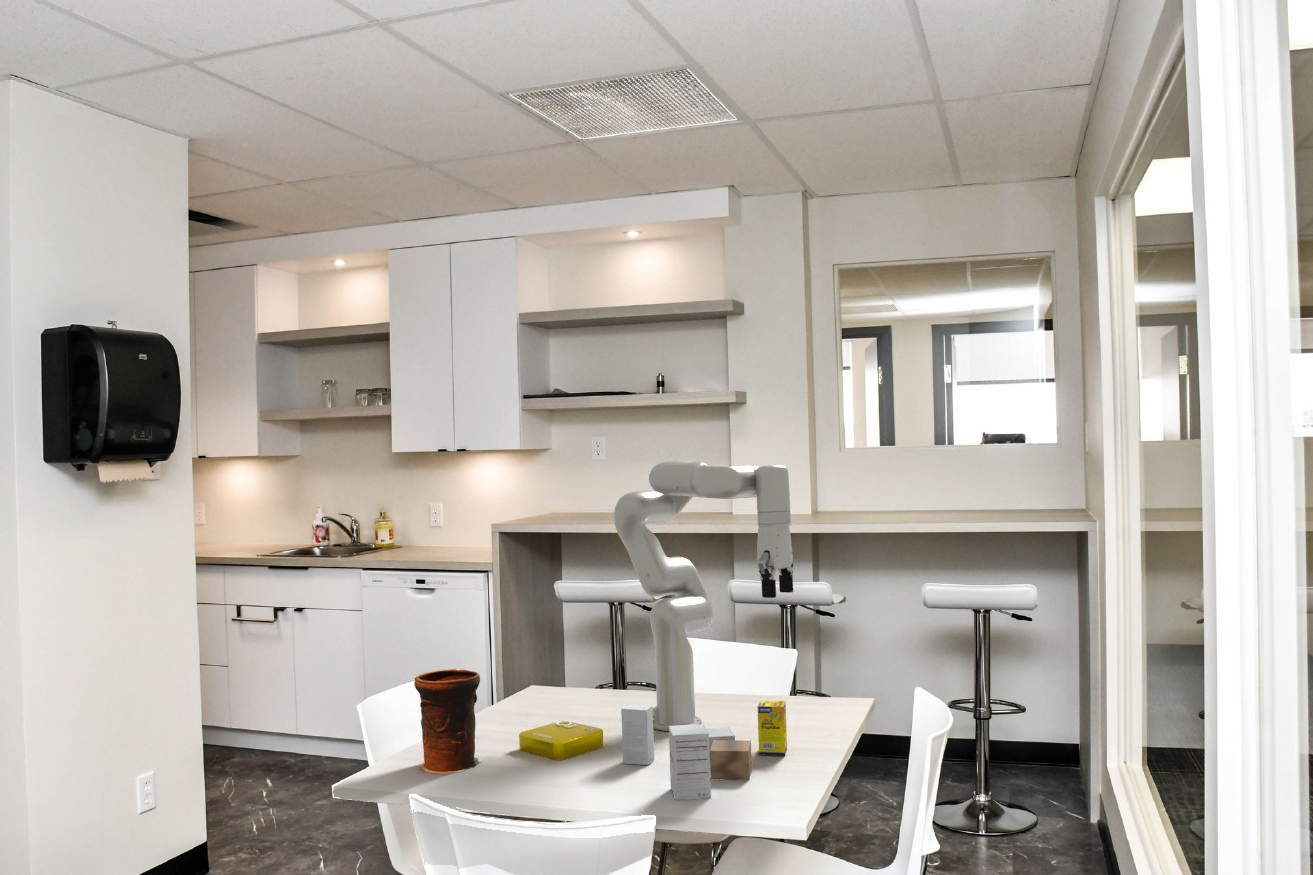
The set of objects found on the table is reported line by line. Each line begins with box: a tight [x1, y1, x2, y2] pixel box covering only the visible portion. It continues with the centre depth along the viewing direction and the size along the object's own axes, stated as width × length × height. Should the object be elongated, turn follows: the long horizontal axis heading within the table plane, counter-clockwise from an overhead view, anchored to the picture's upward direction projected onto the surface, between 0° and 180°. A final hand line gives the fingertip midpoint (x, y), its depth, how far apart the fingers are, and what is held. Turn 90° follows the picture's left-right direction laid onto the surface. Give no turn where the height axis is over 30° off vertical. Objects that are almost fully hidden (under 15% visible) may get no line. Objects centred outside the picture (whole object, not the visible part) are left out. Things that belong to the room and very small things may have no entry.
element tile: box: [518, 720, 604, 761], centre depth 232 cm, size 15×15×5 cm
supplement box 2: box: [757, 699, 788, 757], centre depth 223 cm, size 6×6×11 cm
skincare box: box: [620, 704, 655, 766], centre depth 219 cm, size 6×4×12 cm
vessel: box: [413, 668, 481, 775], centre depth 222 cm, size 14×14×20 cm
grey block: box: [706, 727, 736, 753], centre depth 219 cm, size 7×7×6 cm
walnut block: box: [710, 739, 753, 781], centre depth 209 cm, size 8×8×6 cm
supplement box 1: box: [668, 723, 712, 801], centre depth 197 cm, size 7×7×13 cm
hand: (778, 594), depth 227 cm, fingers open, 9 cm apart
